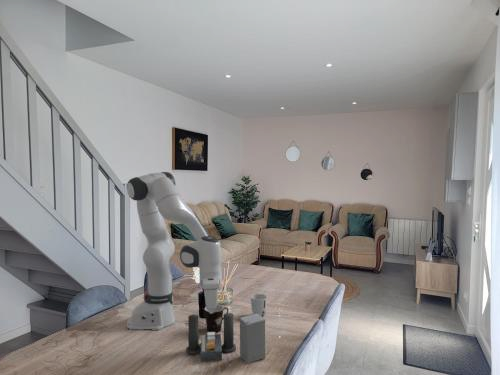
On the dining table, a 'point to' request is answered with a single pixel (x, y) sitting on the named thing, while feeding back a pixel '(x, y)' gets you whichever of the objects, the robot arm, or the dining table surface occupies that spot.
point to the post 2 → (228, 334)
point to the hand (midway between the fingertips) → (211, 312)
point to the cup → (259, 304)
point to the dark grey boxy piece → (212, 353)
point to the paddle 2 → (210, 345)
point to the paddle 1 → (210, 334)
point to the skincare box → (252, 338)
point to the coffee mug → (214, 319)
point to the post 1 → (193, 335)
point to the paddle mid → (211, 339)
